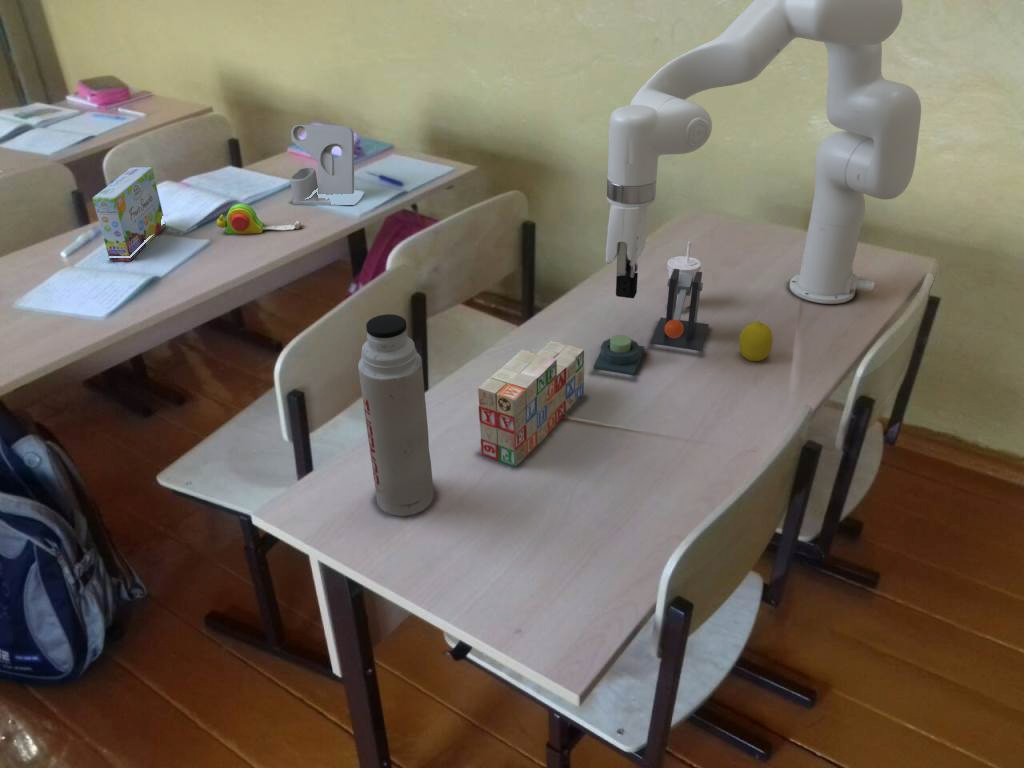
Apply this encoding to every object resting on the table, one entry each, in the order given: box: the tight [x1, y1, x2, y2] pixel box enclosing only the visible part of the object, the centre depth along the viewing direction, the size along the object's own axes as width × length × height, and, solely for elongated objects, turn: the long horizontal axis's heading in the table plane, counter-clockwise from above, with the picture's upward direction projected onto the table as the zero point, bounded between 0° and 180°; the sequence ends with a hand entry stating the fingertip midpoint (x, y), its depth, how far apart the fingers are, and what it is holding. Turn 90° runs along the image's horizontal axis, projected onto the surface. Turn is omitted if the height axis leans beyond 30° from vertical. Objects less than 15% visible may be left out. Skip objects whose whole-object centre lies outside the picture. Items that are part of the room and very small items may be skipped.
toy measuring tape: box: [216, 203, 302, 235], centre depth 197 cm, size 6×20×7 cm, turn 96°
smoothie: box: [666, 240, 702, 309], centre depth 158 cm, size 6×6×14 cm
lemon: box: [738, 320, 774, 362], centre depth 142 cm, size 6×6×8 cm
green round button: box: [609, 334, 632, 353], centre depth 143 cm, size 4×4×2 cm
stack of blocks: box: [477, 340, 585, 468], centre depth 126 cm, size 21×6×12 cm, turn 148°
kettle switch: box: [665, 274, 693, 338], centre depth 143 cm, size 13×3×3 cm, turn 161°
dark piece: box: [593, 337, 646, 376], centre depth 144 cm, size 9×7×4 cm
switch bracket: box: [649, 269, 709, 352], centre depth 148 cm, size 10×9×13 cm
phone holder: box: [289, 124, 355, 207], centre depth 212 cm, size 17×10×18 cm, turn 81°
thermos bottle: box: [357, 313, 435, 517], centre depth 108 cm, size 8×8×28 cm
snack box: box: [91, 166, 167, 262], centre depth 190 cm, size 21×6×15 cm, turn 179°
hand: (626, 295), depth 138 cm, fingers closed
